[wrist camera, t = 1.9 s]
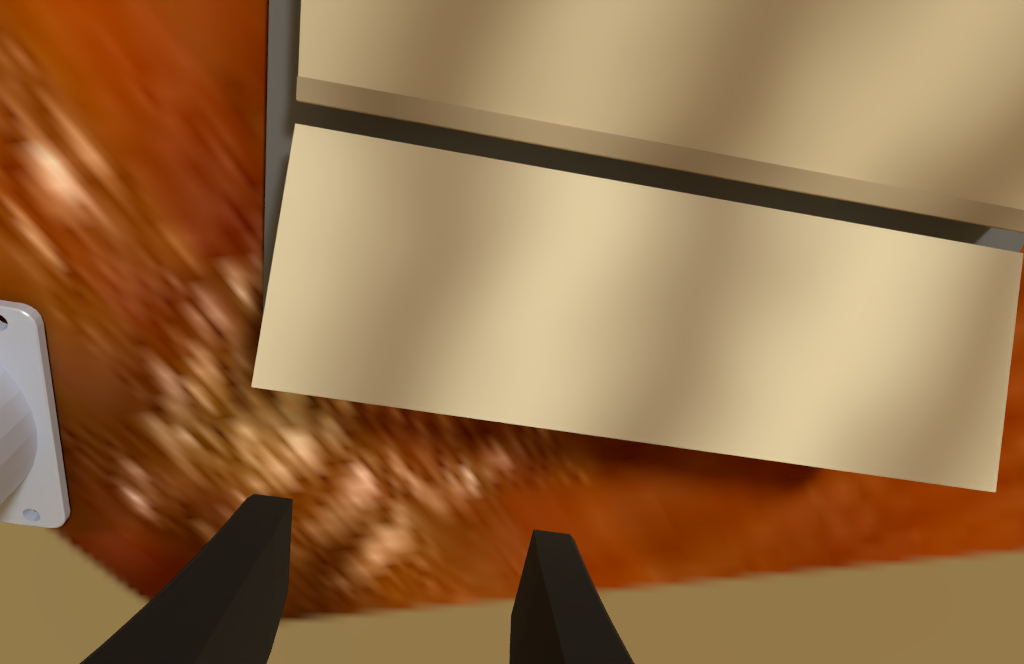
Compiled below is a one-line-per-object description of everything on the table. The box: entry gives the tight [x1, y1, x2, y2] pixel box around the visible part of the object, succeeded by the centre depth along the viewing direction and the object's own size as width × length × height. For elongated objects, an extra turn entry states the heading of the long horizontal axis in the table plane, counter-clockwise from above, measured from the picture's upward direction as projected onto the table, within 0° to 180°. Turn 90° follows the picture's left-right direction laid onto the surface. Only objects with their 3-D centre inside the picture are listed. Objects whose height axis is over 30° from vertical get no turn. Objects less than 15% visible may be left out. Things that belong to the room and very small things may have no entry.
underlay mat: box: [263, 0, 1024, 314], centre depth 18 cm, size 20×16×1 cm
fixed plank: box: [296, 0, 1024, 233], centre depth 16 cm, size 18×6×1 cm, turn 80°
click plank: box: [251, 124, 1023, 492], centre depth 17 cm, size 18×6×1 cm, turn 80°
